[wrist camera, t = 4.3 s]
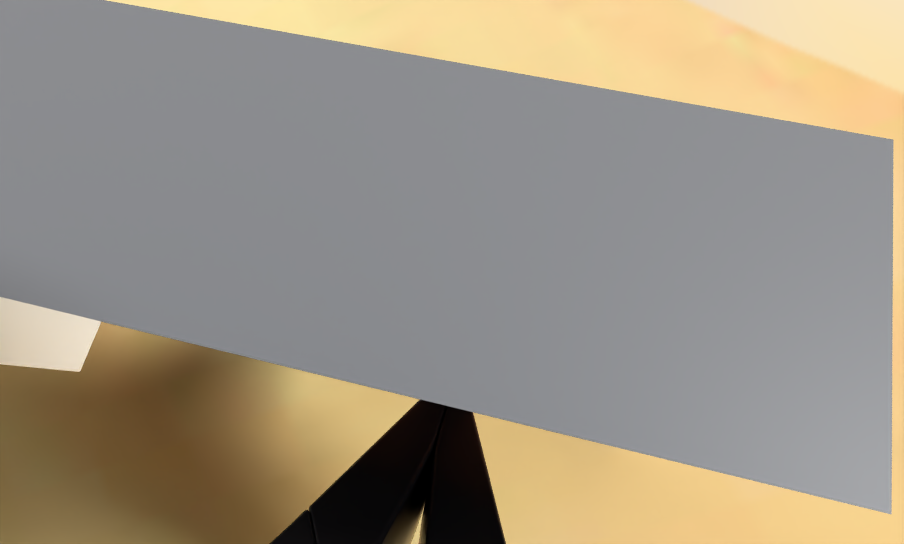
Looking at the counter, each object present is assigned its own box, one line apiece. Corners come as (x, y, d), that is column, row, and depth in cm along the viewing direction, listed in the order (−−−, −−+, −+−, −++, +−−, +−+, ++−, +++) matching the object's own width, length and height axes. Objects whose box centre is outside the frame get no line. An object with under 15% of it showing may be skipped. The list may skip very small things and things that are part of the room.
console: (618, 446, 16) (892, 514, 6) (25, 301, 18) (-578, 155, 8) (638, 301, 18) (893, 139, 7) (81, 181, 20) (-373, -85, 9)
